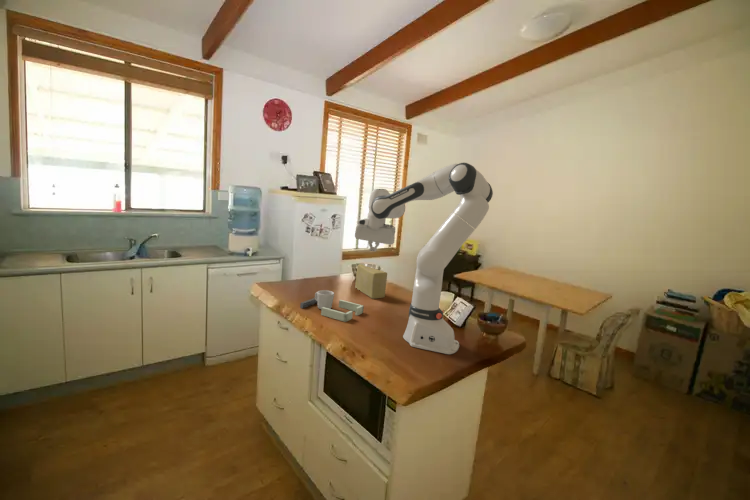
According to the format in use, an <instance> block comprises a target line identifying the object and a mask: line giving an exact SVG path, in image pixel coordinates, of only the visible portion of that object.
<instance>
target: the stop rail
mask: <svg viewBox="0 0 750 500" xmlns="http://www.w3.org/2000/svg"><path fill="white" fill-rule="evenodd" d="M315 304H318V302H317V301H316V300H315V297H312V298H310V299H307V300H304V301H301V302H300V309H302V310H304V309H305V308H308V307H310V306H313V305H315Z"/></svg>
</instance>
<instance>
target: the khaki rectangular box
mask: <svg viewBox="0 0 750 500" xmlns="http://www.w3.org/2000/svg"><path fill="white" fill-rule="evenodd" d="M355 273H356V274H355V275H356V276H355V282H354V283H355V286H354V289H356V288H357V289H356V290H358V291H359V290H360V291H359V292H361V293H363V294H364V295H366V296H367V297H369V298H370V299H373V300H375V299H383V298H385V296H386V288H387V281H388V280H387V279H388V272H386V271H383V270H380V269H378V268H373V267H371V266H370V267H369V266H367V265H364V264H358V265H357V268H356V272H355Z"/></svg>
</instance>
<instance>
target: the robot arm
mask: <svg viewBox="0 0 750 500" xmlns="http://www.w3.org/2000/svg"><path fill="white" fill-rule="evenodd" d="M453 192H454V193H455V194H456V195H459V197H460V201H459V202H458V204H457V205H456V206H455V207H454V209H453V210H452V211H451V212H450V214H449V215H448V216H447V217H446V219H444V221H443V222H442V223H441V225H440V226H439V227H438V228H437V230H436V231H435V232H434V234H433V235H432V236H431V237H430V239H429V240H428V241H427V243H426V244H425V245H423V246H421V248H420V249H419V251H418V253H417V257H416V261H415V262H416V269H415V275H414V276H415V277H414V282H413V289H412V297H411V303H409V304H410V305H409V310H408V321H407V324H406V328H405V331H404V333H403V335H402V338H403V339H404V340H405V341H406V342H407V343H408V344H409V345H410V346H411V347H413V348H417V349H421V350H426V351H430V352H431V351H432V352H435V353H441V354H445V355H453V354H455V353H457V352H458V351H459V348H460V342H459V341H458V340H456V339H455V331H454V328H453V327H451V325H450V324H449V323H448V322H447V321H446V320H445V319H444V318H443V317H444V313H445V311H444V309H443V310H442V309H441V308H440V302H441V301H440V300H441V294H442V288H443V277H444V272H445V271H444V270H445V268H446V267H447V266H448V265H449V263H450V262H451V261H452V260H453V258H454V257H455V255H456V254H457V253H458V251H459V250H460V248H462V246H463V245H464V243H465V242H466V241H467V240H468V238H470V236H471V235H472V234H473V233H474V232H475V230H476V229H477V228H478V227H479V226H480V224H481V223H482V221H483V220H484V218H485V216H487V213H488V211H489V209H490V205H489V203H490V201H491V200H492V198H493V195H494V191H493V188H492V185H491V184H490V183H489V182H488V181H487V179H486V178H485V177H484V175H483V174H482V173H481V172H480V171H479V170H477V168H476V167H475V166H473V165H472V164H470V163H468V162H459V163H451V164H449V165H446V166H444V167H441V168H439V169H437V170H435V171H433V172H432V173H430V174H428V175H426V176H424V177H423V178H421V179H418V180H417V181H415V182H414V183H412V184H409V185H407V186H404V187H403V188H401V189H398V190H396V191H394V192H392V193H390V192H389V191H388V190H387V189H386V188H375V189H373V190H372V191H371V193H370V195H369V201H368V213H367V218H362V219H358V220H357V225H356V227H355V231H354V232H355V233H354V237H355V239H356V240H362V241H366V242H367V244H368V246H369V251H372V252H377V249H378V247H379V246H380V244H385V245H393V244H395V237H396V235H395V233H396V227H395V226H394V225H393V224H387V223H386V220H387V219H398V218H401V217H403V215H404V214H405V211H406V204H408V203H410V202H413V201H414V202H415V201H433V200H437V199H440V198H443V197H445V196H447V195H450V194H451V193H453ZM373 243H374V244H375V245H374V246H373Z"/></svg>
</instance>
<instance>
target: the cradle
mask: <svg viewBox="0 0 750 500" xmlns="http://www.w3.org/2000/svg"><path fill="white" fill-rule="evenodd" d="M338 302H339V303H338V308H342V309H345V310H349V311H347V312H343V311H340V310H336V309H332V308H331V309H329V308H325V307H322V309H320V310H321V312H320V315H321V316H324V317H327V318H330V319H333V320H334V319H335V320H336V321H341V322H344V323H346V322H348V321H350V320H352V319H353V312H355V313H354V316H360V315H362V314H364V307H365V306H364V305H363V304H359V303H355V302H351V301H347V300H343V299H339V301H338Z"/></svg>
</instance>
